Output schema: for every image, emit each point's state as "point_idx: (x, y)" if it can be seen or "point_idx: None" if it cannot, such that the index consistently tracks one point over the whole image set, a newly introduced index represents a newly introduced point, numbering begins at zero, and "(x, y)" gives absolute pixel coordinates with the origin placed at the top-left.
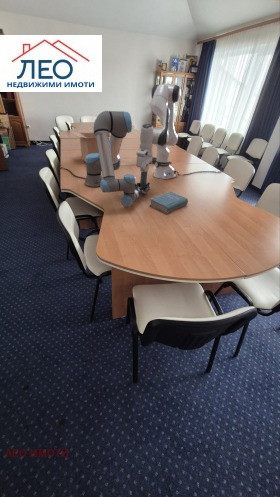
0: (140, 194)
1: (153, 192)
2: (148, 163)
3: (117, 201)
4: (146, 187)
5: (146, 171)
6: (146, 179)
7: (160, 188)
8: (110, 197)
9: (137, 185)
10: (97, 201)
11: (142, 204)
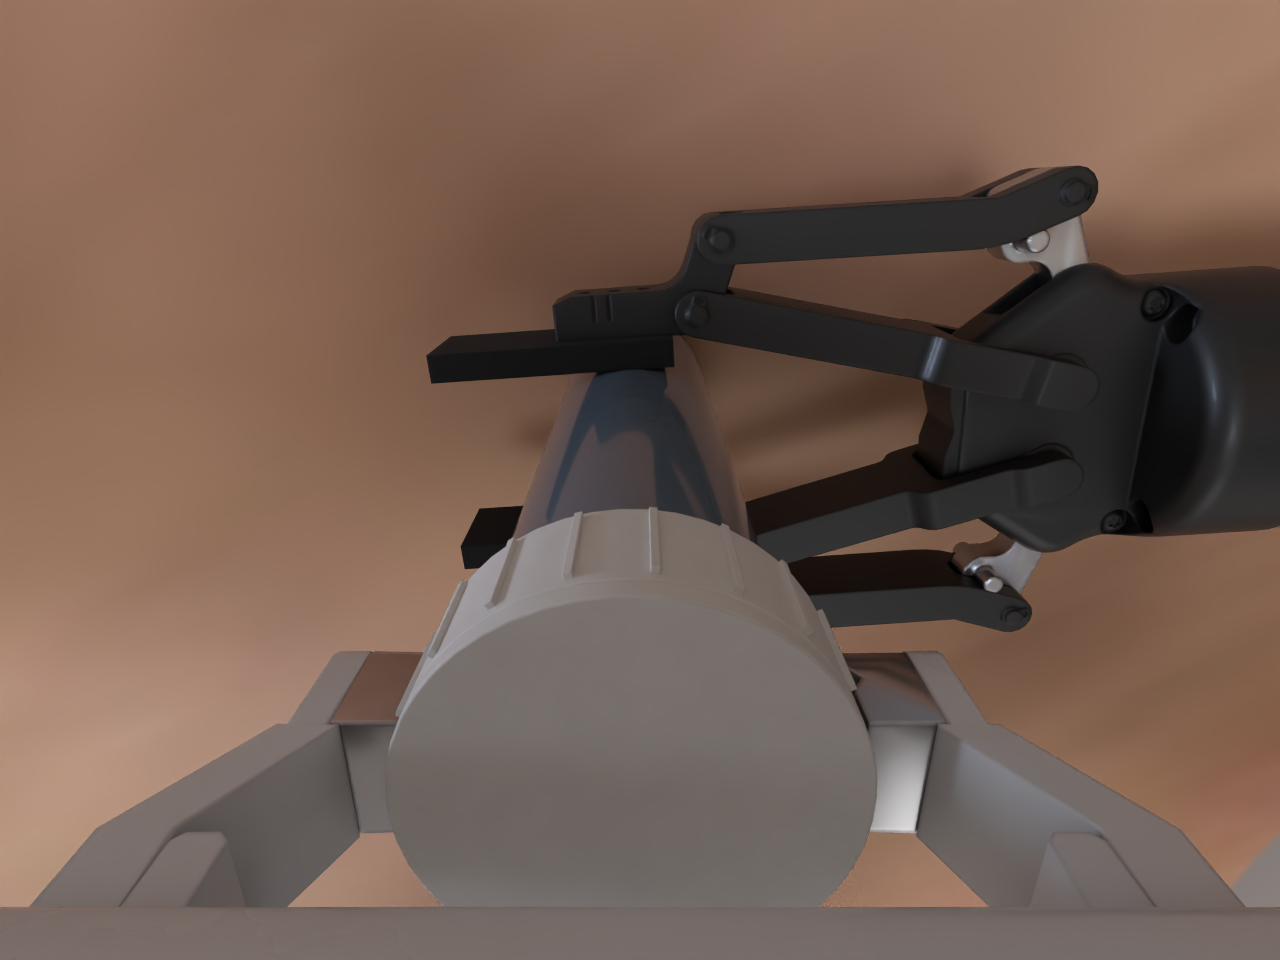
0: (1168, 272)
1: (415, 213)
2: (112, 906)
3: (1161, 603)
4: (757, 299)
5: (753, 548)
6: (649, 414)
7: (75, 159)
8: (1047, 748)
9: (806, 536)
10: (1252, 813)
11: (1144, 159)
